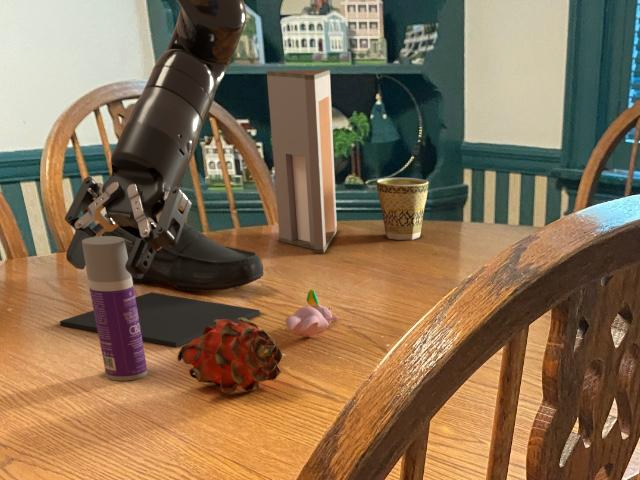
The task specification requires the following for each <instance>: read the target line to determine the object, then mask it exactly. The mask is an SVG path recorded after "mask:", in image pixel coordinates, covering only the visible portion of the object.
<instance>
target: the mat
mask: <svg viewBox="0 0 640 480" xmlns="http://www.w3.org/2000/svg"><path fill="white" fill-rule="evenodd" d="M135 299H136V305H137V311H138V317H139V323H140V329H141V335H142V341H143V342H147V343H153V344H157V345H162V346H168V347H172V348H173V347H174V348H177V347H181V346H184V345H186V344H188V343H190V342H191V341H192V340H193V339H195V338H199V337H201V336H202V334H203V333H204V330H205V328H206V327H208V326H210V327H212V326H216V325H215V324H214V323H213V321H214V320H216V319H217V320H220V319H229V320H231V321H233V322H234V323H236V324H238V323H239V320H237V318H245V319H247V320H249V319H252V318H255V317H256V316H259V315H261V310H260V309H255V308H250V307H243V306H238V305H231V304H226V303H225V304H223V303H219V302H213V301H206V300H201V299H195V298H188V297H182V296H177V295H170V294H164V293H158V292H148V293H145V294H141V295H138V296H135ZM59 325H60V326H61V327H62V326H63V327H67V328H73V329H77V330H78V329H79V330H84V331H89V332H95V333H98V330H97V325H96V320H95V315H94V310H90V311H87V312H83V313H81V314H77V315H75V316H71V317H67V318H66V319H62V320H59Z"/></svg>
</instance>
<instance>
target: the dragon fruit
mask: <svg viewBox="0 0 640 480" xmlns="http://www.w3.org/2000/svg"><path fill="white" fill-rule="evenodd" d="M237 320H239V323H234V322H233V321H231V320H229V319H220V320H217V319H216V320H214V321H213V323H214V324H215V325H216V326H212V327H210V326H208V327H206V328H205V330H204V333H203V334H202V336H201V337H199V338H195V339H193V340H192V341H191V342H188V343H186V344H183V345H182V347H181V348H180V350H179V351H178V353H177V357H176V359H177V362H180V361H183V363H184V364H186V365H192V367H191V368H190V369H188V374H189V375H190V376H191V378H193V379H195V380H196V381H197V382H198V383H202V384H203V383H204V384H205V383H208V384H214V385H216V386H217V388H220V390H221V392H222V393H223V394H225V395H229V394H231V393H232V392H235V391H236V389H237V388H238V387H241V388H242V390H244V392H253V391H257V390H259V387H260V384H259V383H262V382H265V381H273V380H276V379H277V378H278V377H279V376H280V374H282V371H281V369H280V368H279V366H278V365H279V363H281V360H282V357H283V353H282V351H281V349H280V348H279V347H278V346H277V345H278V344H277V342H276V340H275V339H274V338H273V337H272V336H271V334H269V333H268V332H267V331H266V330H265V329H263V328H262V329H260V328H259V326H258V325H257V324H256V323H254V322H252V321H250V320H249V319H245V318H237ZM176 359H175V360H176Z"/></svg>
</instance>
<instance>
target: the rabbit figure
mask: <svg viewBox="0 0 640 480" xmlns="http://www.w3.org/2000/svg"><path fill="white" fill-rule="evenodd" d="M306 302H307V304H308V305H307V306H303V307H300V308H298V309H297V310H296V311H295V312H294V313H293V314H292V315H290V316H287V317H286V318H285V325H286V327H287V329H288V330H289V331H293V330H295V331H296V332H297V333H299V334H301V335H305V336H306V337H307V338H311V337H316V335H318V334H321V333H324V331H326V330H327V329H328V328H329V325H330V324H331V323H332V322H333V321H337V320H339V316H337V315H334V313H333V310H332V309H333V308H332V306H331V307H329V308H328V307H326V306H324V305H320V304H319V298H318V297H317V294H316V291H315V289H314V288H311V289H310V290H308V292H307V295H306Z"/></svg>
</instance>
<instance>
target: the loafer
mask: <svg viewBox="0 0 640 480" xmlns="http://www.w3.org/2000/svg"><path fill="white" fill-rule="evenodd" d="M103 215H104V216H105V217H106V218H110V217H109V216H108V214H107V213H106V212H105V214H103ZM170 228H171V224H170V225H169V228H168V230H169V231H170ZM101 236H115V237H121V238H124V240H125V245H126V250H127V255H128V258H129V255H130V253H131V251H132V248H133V246H134V244H135V241H136V239H137V238H142V237H141V235H140V231H139V228H134V227H132V226H125V227H124V226H118V227H117V228H116V229H115V230H113V231H112V232H108V231H107V232H105V233H104V234H102V235H101ZM264 274H265V273H264V265H263V262H262V259H261V257H260V256H259V255H258V253H256V252H254V251H249V250H245V249H244V250H243V249H239V248H236V247H231V246H226V245H223V244H220V243H218V242H216V241H214V240H213V239H211V238H209V237H208V236H207V235H206V234H204V233H203V232H202V231H200V230H198V229H197V228H195V227H194V226H193V225H191V224H189V223H187V221H185V224H184V227H183V229H182V232H181V235H180V238H179V240H178V243H177V245H176V246H175V247H173V248H170V247H169V246H168V245H166V246H162V248H161V249H160V250H158V251H156V253H155V255H154V258H153V260H152V262H151V265H150V267H149V269H148V271H147V272H146V273H145V274H144V276H143V278H142V279H139V278H134V277H133V276H132V275H131V276H132V281H133V283H140V284H141V283H142V284H143V283H160V284H168V285H170V286H173V287H175V288H176V289H178V290H181V291H192V292H214V291H224V290H229V289H232V288H233V289H235V288H236V289H237V287H238V288H239V287H242V286H244V285H247V284H250V283H253V282H255V281H258V280H260V279H262V278H263V277H264Z"/></svg>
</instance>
